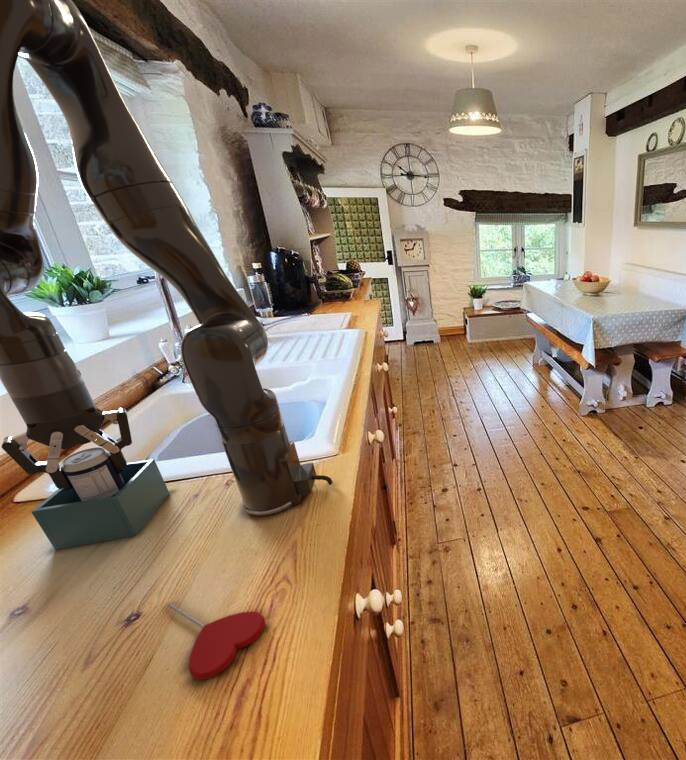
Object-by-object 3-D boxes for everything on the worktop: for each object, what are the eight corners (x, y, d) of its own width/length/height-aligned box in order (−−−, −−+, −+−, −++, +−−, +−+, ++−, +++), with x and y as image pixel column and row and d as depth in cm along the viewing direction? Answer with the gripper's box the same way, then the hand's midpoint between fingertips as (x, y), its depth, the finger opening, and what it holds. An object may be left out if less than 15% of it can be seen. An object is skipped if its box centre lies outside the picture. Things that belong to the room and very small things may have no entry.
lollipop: (133, 634, 51) (207, 688, 44) (130, 629, 50) (204, 683, 44) (202, 582, 57) (274, 623, 51) (199, 578, 57) (272, 618, 51)
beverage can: (144, 504, 72) (116, 446, 67) (113, 527, 67) (80, 466, 62) (116, 503, 73) (86, 445, 68) (82, 526, 68) (47, 465, 63)
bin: (169, 493, 76) (154, 458, 73) (136, 535, 66) (116, 498, 63) (100, 504, 74) (81, 469, 71) (54, 549, 64) (30, 511, 61)
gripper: (-35, 409, 53) (30, 512, 60) (112, 377, 62) (154, 469, 69) (-24, 393, 58) (34, 489, 65) (110, 365, 67) (149, 452, 74)
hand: (95, 478), depth 67 cm, fingers closed on beverage can, 5 cm apart
